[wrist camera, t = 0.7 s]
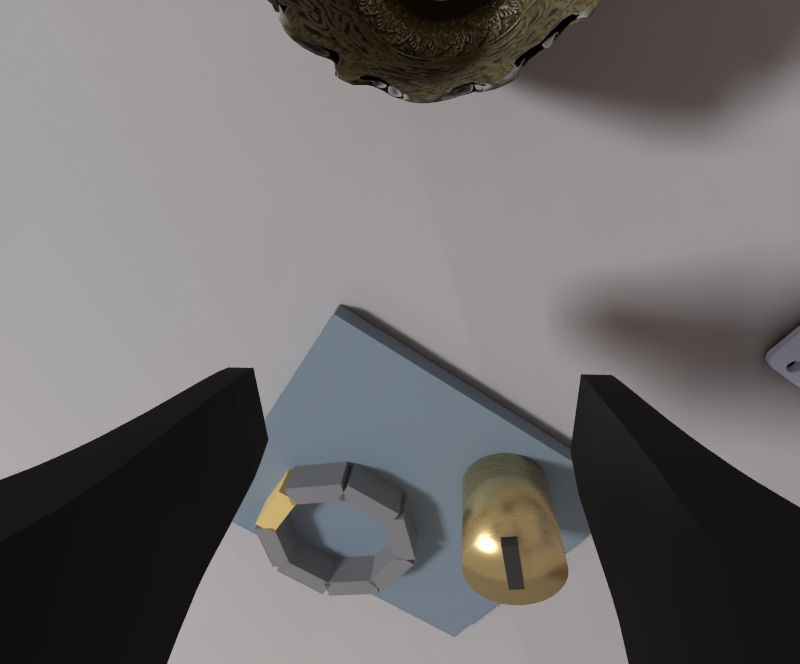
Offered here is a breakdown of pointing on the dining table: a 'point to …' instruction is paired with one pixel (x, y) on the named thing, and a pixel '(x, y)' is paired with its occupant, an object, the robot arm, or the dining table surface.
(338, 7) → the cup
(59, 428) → the dining table surface
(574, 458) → the robot arm
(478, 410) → the blue-grey flat slab
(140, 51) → the dining table surface
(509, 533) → the knob
